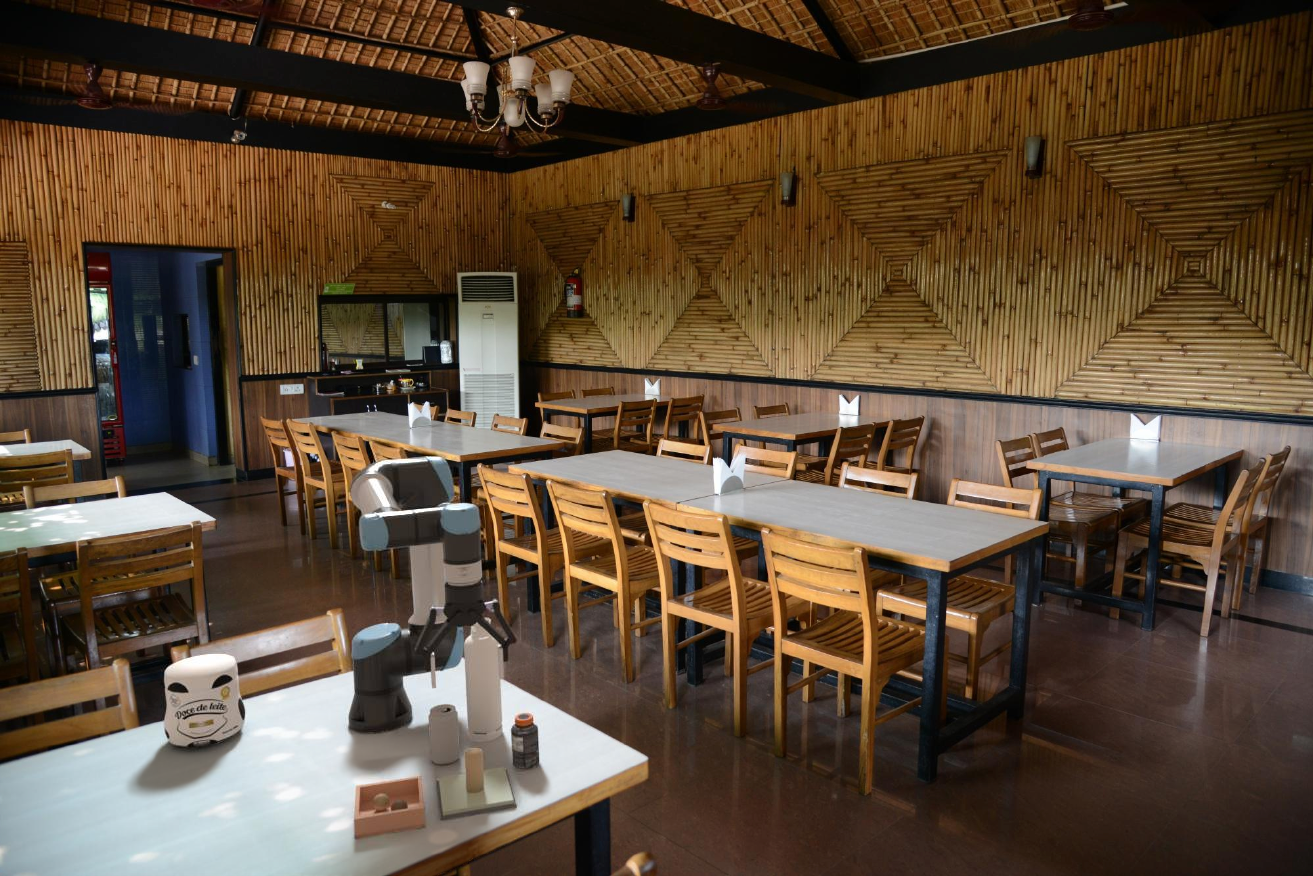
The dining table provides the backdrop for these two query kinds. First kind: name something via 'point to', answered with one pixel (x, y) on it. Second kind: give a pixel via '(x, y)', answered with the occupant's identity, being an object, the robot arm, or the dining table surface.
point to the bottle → (482, 685)
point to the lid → (474, 787)
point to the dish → (389, 807)
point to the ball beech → (380, 802)
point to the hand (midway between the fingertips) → (467, 681)
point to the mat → (474, 810)
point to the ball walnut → (399, 805)
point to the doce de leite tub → (203, 701)
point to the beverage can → (444, 734)
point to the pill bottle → (525, 742)
